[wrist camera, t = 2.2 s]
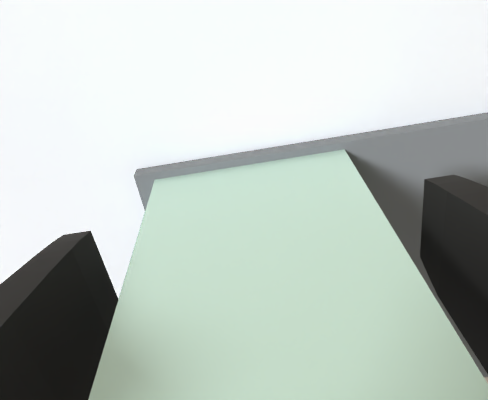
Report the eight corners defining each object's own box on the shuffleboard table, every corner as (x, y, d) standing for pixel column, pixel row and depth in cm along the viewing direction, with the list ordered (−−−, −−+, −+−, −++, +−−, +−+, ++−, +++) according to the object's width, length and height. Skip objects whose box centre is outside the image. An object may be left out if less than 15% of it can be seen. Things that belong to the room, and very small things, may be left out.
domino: (346, 202, 12) (516, 546, 5) (169, 229, 12) (97, 596, 5) (344, 149, 11) (540, 470, 4) (154, 179, 11) (47, 532, 4)
